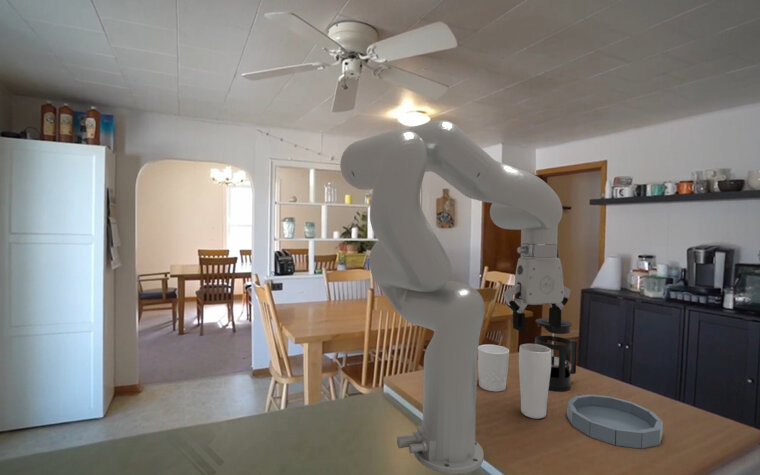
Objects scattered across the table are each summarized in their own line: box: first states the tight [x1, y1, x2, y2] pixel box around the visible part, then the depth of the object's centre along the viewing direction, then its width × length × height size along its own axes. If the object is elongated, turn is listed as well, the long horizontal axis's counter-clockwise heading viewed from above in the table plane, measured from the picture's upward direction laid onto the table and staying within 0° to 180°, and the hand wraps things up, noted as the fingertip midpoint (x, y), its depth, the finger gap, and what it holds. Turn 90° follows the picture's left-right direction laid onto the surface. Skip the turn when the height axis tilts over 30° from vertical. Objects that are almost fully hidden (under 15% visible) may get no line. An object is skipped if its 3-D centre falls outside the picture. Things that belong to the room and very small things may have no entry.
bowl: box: [566, 394, 664, 449], centre depth 85 cm, size 17×17×3 cm
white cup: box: [477, 344, 510, 392], centre depth 105 cm, size 8×8×10 cm
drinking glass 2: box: [518, 343, 552, 420], centre depth 89 cm, size 7×7×15 cm
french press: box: [534, 317, 578, 392], centre depth 107 cm, size 12×9×23 cm
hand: (537, 328), depth 89 cm, fingers open, 9 cm apart
